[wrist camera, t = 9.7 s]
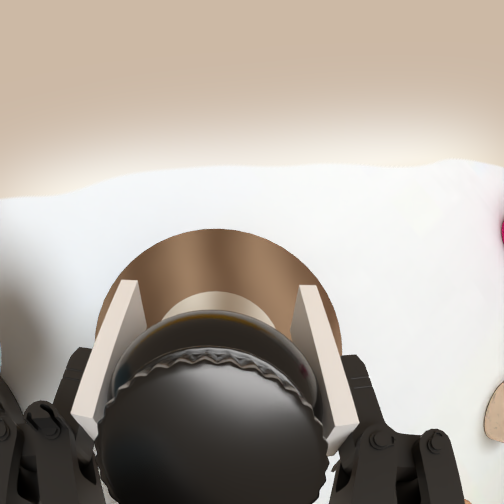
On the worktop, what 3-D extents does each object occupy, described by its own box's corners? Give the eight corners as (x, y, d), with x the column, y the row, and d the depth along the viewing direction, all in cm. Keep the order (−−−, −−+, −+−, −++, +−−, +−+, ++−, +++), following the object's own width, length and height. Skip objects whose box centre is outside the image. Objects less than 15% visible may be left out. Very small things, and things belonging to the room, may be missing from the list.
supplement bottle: (158, 424, 15) (72, 545, 4) (160, 311, 17) (43, 282, 5) (277, 430, 16) (350, 562, 4) (281, 317, 17) (385, 300, 6)
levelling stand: (113, 444, 23) (97, 460, 19) (115, 236, 27) (98, 222, 23) (324, 449, 24) (339, 466, 20) (327, 243, 29) (343, 230, 25)
